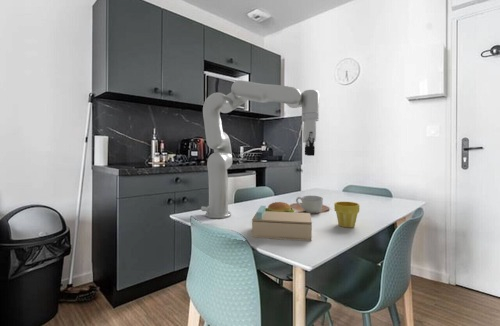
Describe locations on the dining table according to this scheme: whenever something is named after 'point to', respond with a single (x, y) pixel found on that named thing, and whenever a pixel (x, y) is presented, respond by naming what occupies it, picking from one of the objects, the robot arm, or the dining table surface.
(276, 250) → the dining table surface
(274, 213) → the lid
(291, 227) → the box
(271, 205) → the food
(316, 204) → the teacup
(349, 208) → the plant pot
